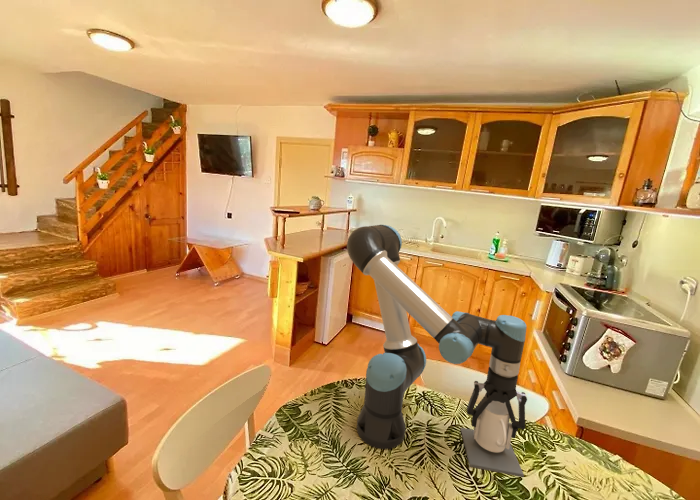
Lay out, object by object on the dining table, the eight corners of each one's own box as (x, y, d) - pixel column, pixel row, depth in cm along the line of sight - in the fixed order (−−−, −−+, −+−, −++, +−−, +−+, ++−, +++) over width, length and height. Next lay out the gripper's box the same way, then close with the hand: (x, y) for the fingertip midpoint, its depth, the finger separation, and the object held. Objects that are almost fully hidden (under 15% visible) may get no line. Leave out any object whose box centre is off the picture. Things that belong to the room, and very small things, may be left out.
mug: (514, 464, 85) (521, 426, 83) (482, 459, 86) (488, 422, 84) (499, 432, 97) (505, 398, 95) (471, 428, 98) (476, 394, 96)
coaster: (469, 466, 86) (470, 464, 86) (460, 429, 100) (460, 427, 100) (523, 477, 84) (523, 474, 84) (506, 437, 98) (506, 435, 97)
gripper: (464, 368, 87) (453, 438, 91) (548, 387, 80) (533, 462, 84) (464, 355, 94) (454, 421, 98) (541, 372, 87) (527, 442, 91)
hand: (490, 440), depth 91 cm, fingers closed on mug, 8 cm apart
